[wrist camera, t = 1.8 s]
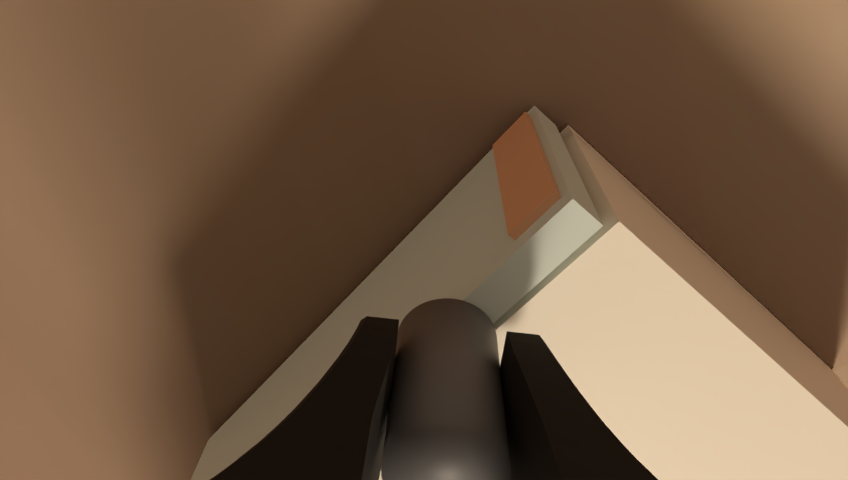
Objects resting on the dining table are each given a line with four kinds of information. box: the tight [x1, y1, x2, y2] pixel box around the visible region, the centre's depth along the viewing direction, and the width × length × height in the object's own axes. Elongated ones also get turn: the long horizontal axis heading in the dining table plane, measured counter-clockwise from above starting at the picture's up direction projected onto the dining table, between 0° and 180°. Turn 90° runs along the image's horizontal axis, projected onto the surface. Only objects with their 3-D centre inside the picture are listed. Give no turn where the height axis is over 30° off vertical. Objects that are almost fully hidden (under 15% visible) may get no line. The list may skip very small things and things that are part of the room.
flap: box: [191, 106, 603, 480], centre depth 16 cm, size 16×2×10 cm, turn 139°
